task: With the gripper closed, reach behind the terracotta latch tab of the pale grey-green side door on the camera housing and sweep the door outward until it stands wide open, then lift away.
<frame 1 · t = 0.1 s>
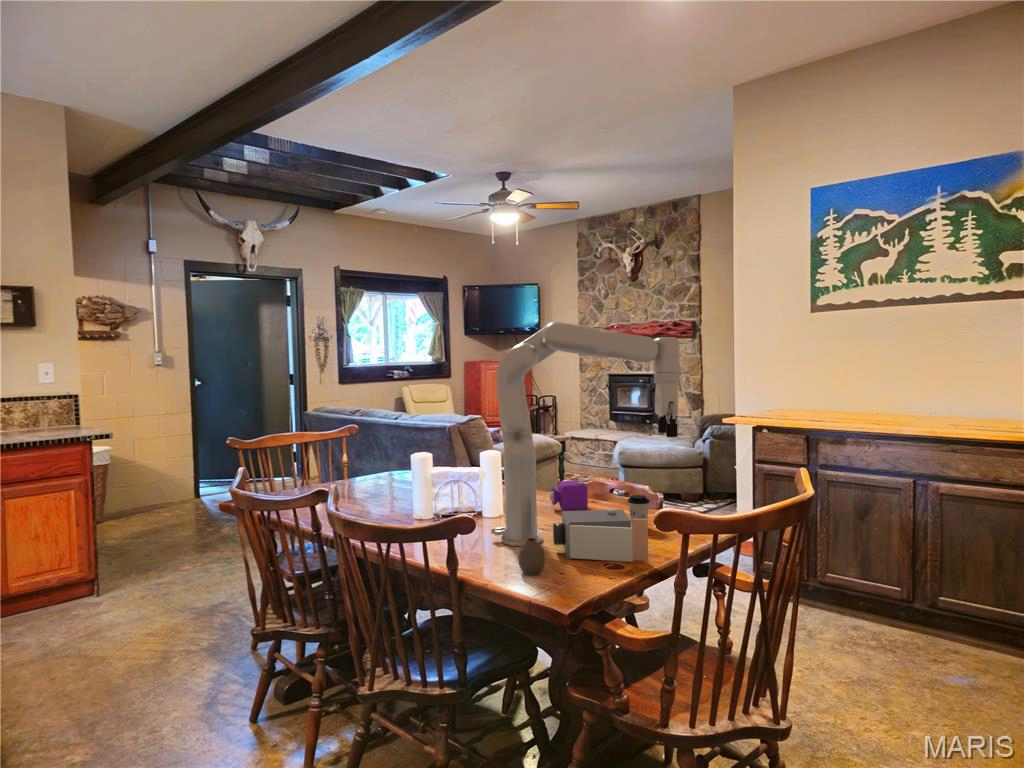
hand: (667, 434, 184), 31 cm above the table, fingers open, 9 cm apart
camera housing: (595, 550, 174), on the table
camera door: (606, 539, 165), point 6 cm above the table, hinge at 15.0°
coffee cup: (639, 528, 196), on the table
vase: (532, 573, 158), on the table
toy camera: (568, 509, 221), on the table
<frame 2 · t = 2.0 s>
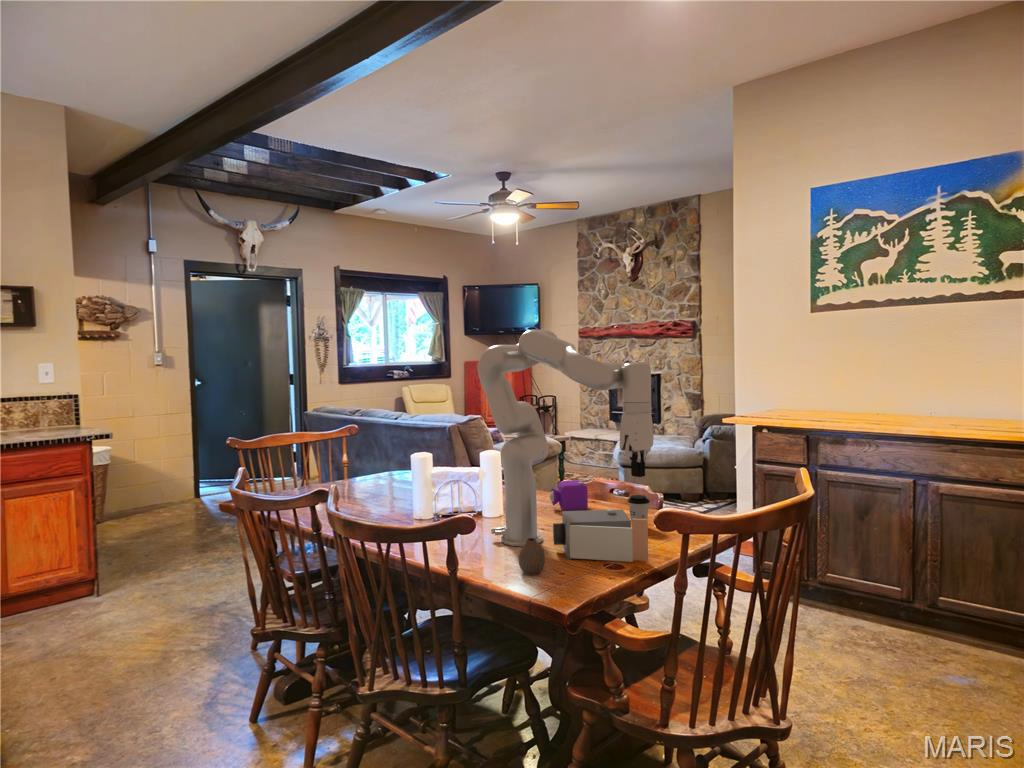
hand: (638, 475, 164), 23 cm above the table, fingers closed
nothing on the table moved.
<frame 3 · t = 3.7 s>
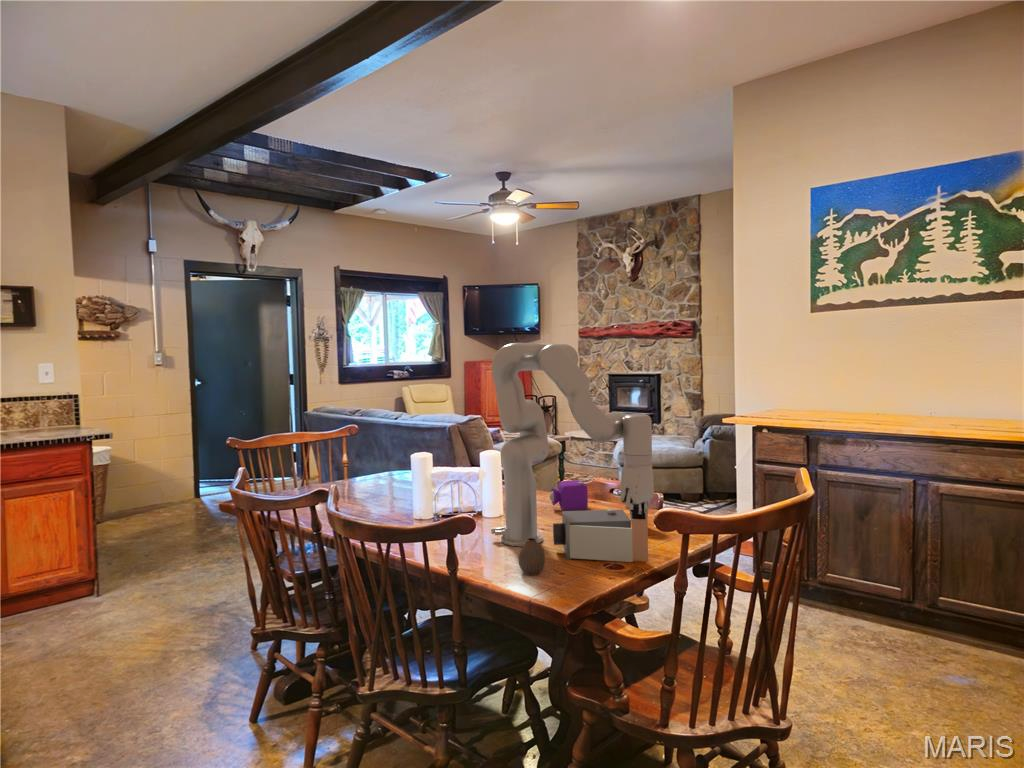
hand: (638, 527, 164), 9 cm above the table, fingers closed
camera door: (606, 539, 164), point 6 cm above the table, hinge at 15.9°, touching gripper
everything else where it was.
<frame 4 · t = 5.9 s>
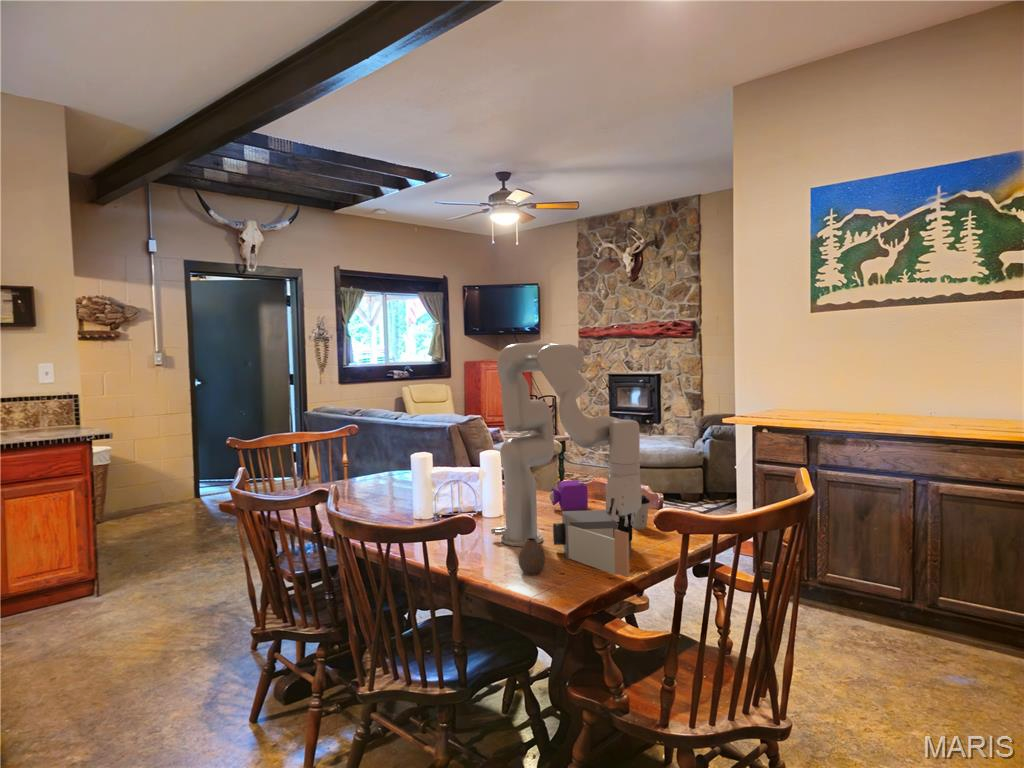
hand: (625, 540, 154), 9 cm above the table, fingers closed
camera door: (595, 546, 159), point 6 cm above the table, hinge at 52.3°, touching gripper
everything else where it was.
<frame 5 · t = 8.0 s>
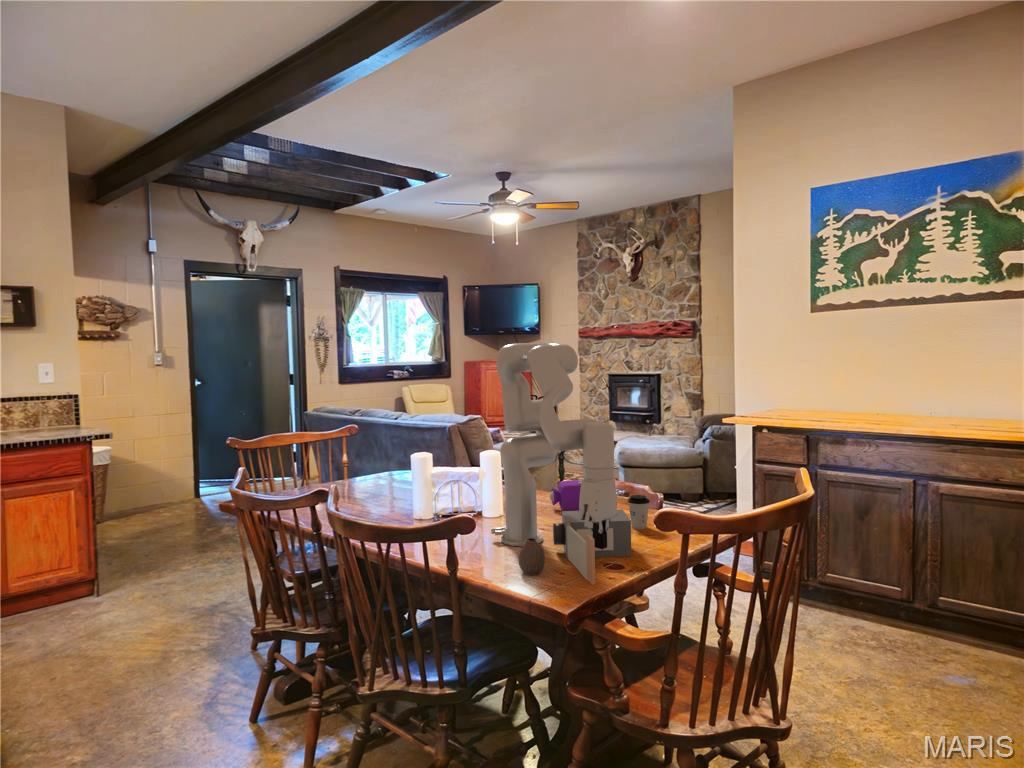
hand: (600, 547, 149), 9 cm above the table, fingers closed
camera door: (579, 549, 157), point 6 cm above the table, hinge at 79.3°, touching gripper
everything else where it was.
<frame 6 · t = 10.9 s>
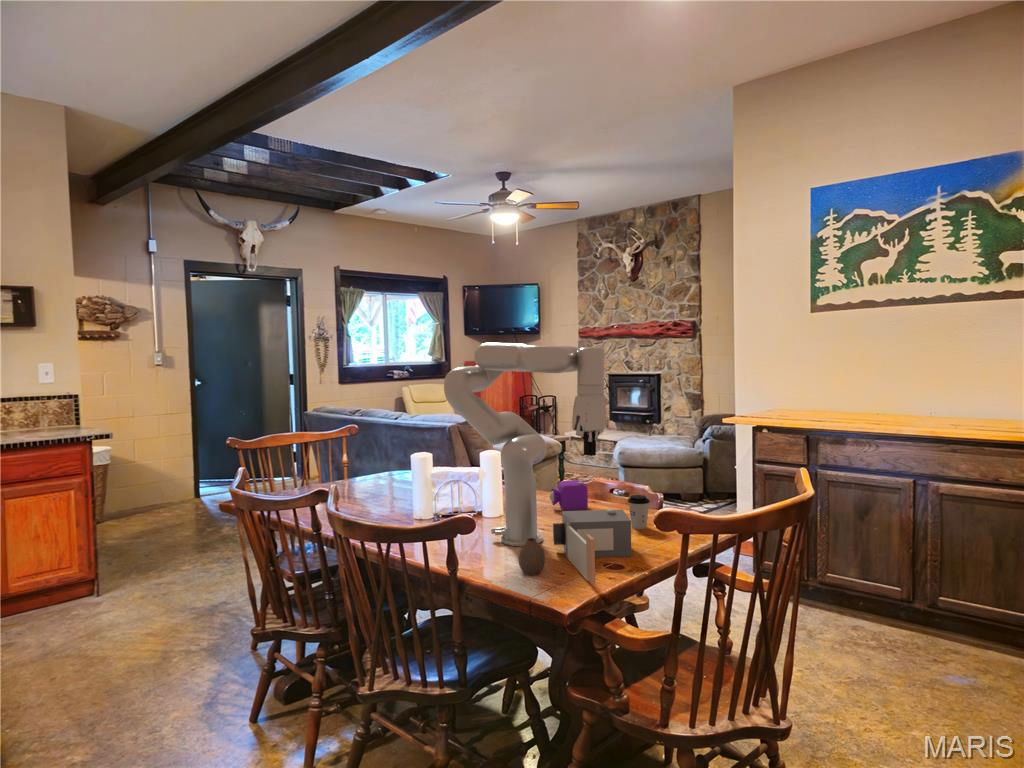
hand: (589, 454, 173), 28 cm above the table, fingers closed
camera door: (579, 549, 157), point 6 cm above the table, hinge at 79.4°
everything else where it was.
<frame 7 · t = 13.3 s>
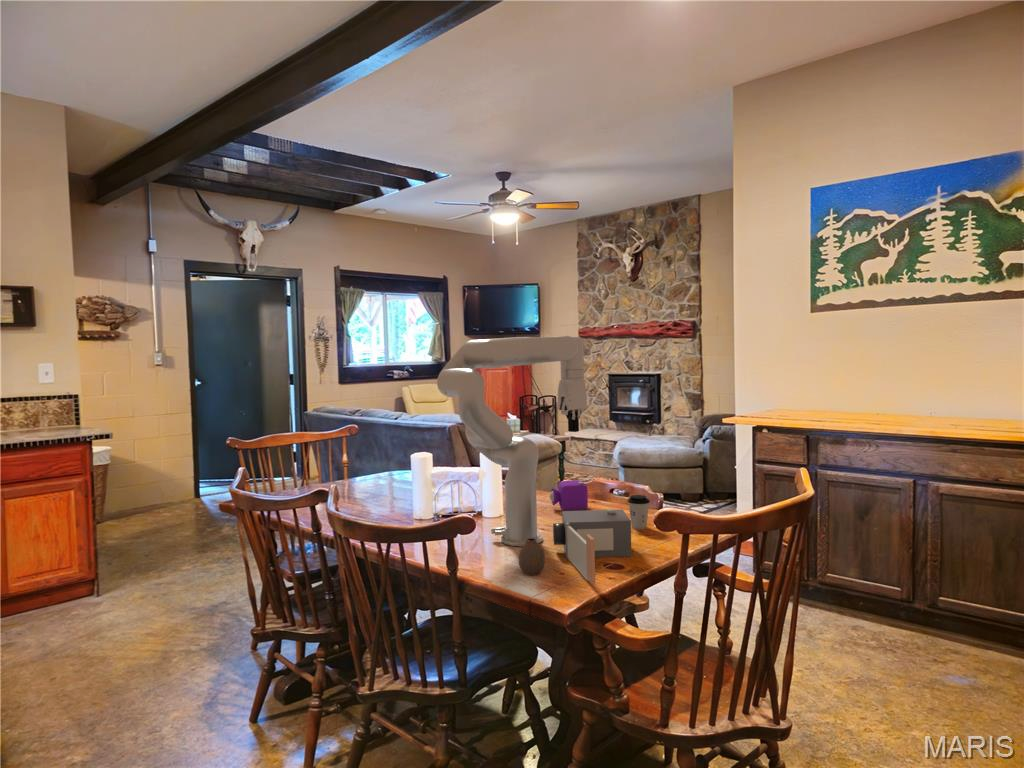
hand: (573, 431, 198), 31 cm above the table, fingers closed
nothing on the table moved.
at the end: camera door at +79° (first picture: +15°); vase moved 0.2 cm from its start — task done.
